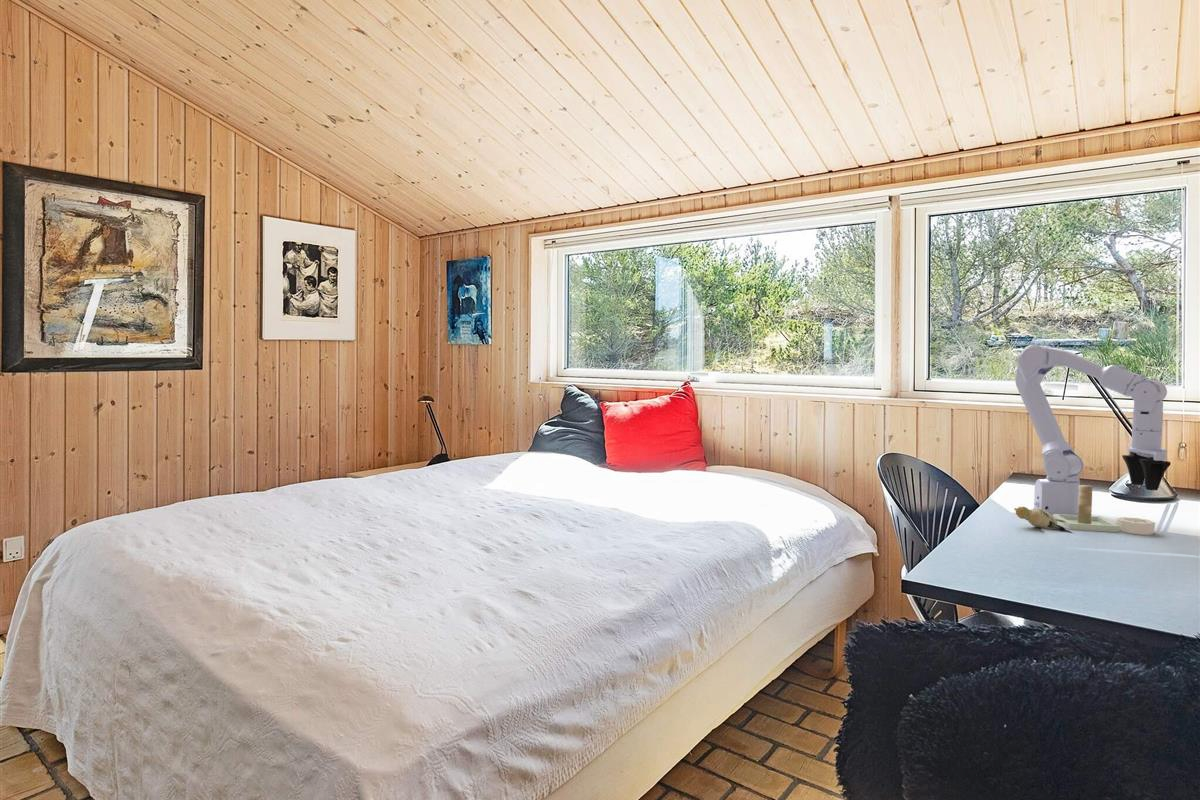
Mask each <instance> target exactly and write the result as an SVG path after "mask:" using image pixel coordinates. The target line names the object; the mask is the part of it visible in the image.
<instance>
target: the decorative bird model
mask: <svg viewBox="0 0 1200 800" xmlns="http://www.w3.org/2000/svg"><path fill="white" fill-rule="evenodd" d="M1014 511H1015V514H1016V516H1017V518H1019V519H1022V520H1025V521H1027V522H1028V523H1029V524H1030V525H1032V526H1033V527H1035V528H1037V529H1041V530H1042V529H1047V530H1058V531H1060V532H1066V533H1069V534H1075V532H1072V531H1070V530H1068V528H1066V527H1065V526H1063V525H1061V524H1059V523H1058V522H1057V521H1060V522H1065V521H1064V520H1059V519H1055V518H1054V517H1053V515H1051V514H1050V513H1048V512H1046V511H1044V510H1041V509H1033V508H1032V509H1028V507H1026V506H1018V507H1017V508H1015V507H1014Z"/></svg>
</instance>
